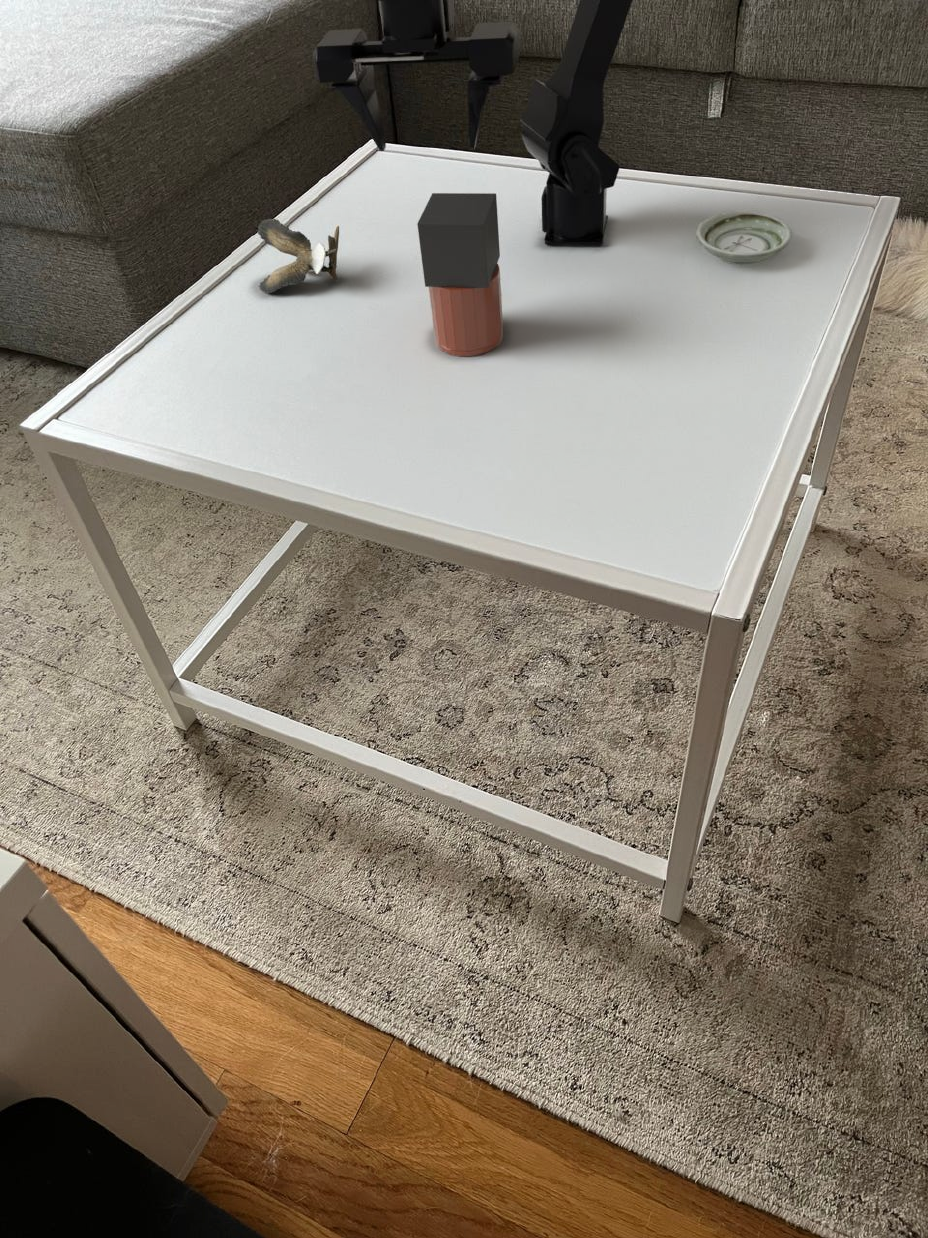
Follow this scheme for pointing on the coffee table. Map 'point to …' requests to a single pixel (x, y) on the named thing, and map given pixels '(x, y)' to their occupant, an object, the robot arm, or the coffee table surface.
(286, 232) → the eagle figurine
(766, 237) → the saucer
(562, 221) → the robot arm
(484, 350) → the cup
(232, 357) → the coffee table surface
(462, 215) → the block
